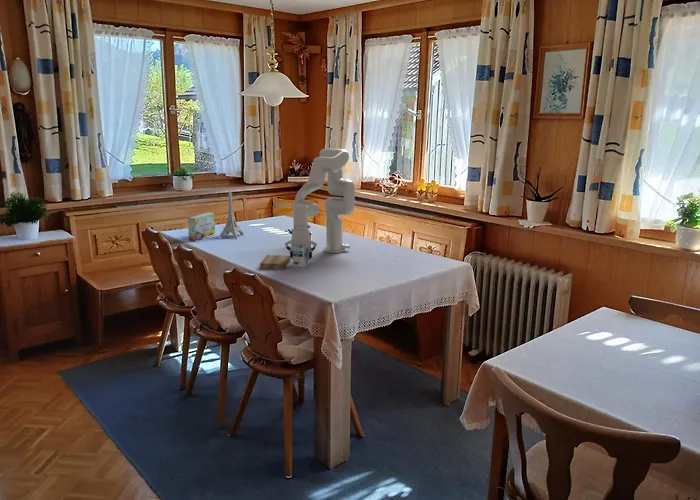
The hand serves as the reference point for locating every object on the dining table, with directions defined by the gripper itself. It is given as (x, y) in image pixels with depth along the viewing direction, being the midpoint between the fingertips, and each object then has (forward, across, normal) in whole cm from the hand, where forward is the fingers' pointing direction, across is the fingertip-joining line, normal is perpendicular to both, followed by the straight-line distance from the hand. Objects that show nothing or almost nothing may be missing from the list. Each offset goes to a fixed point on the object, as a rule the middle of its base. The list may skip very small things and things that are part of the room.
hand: (301, 258), depth 298 cm
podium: (+3, +14, +2) cm, 14 cm away
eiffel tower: (+4, +55, -62) cm, 83 cm away
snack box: (+4, +73, -56) cm, 92 cm away
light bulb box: (+4, 0, 0) cm, 4 cm away
